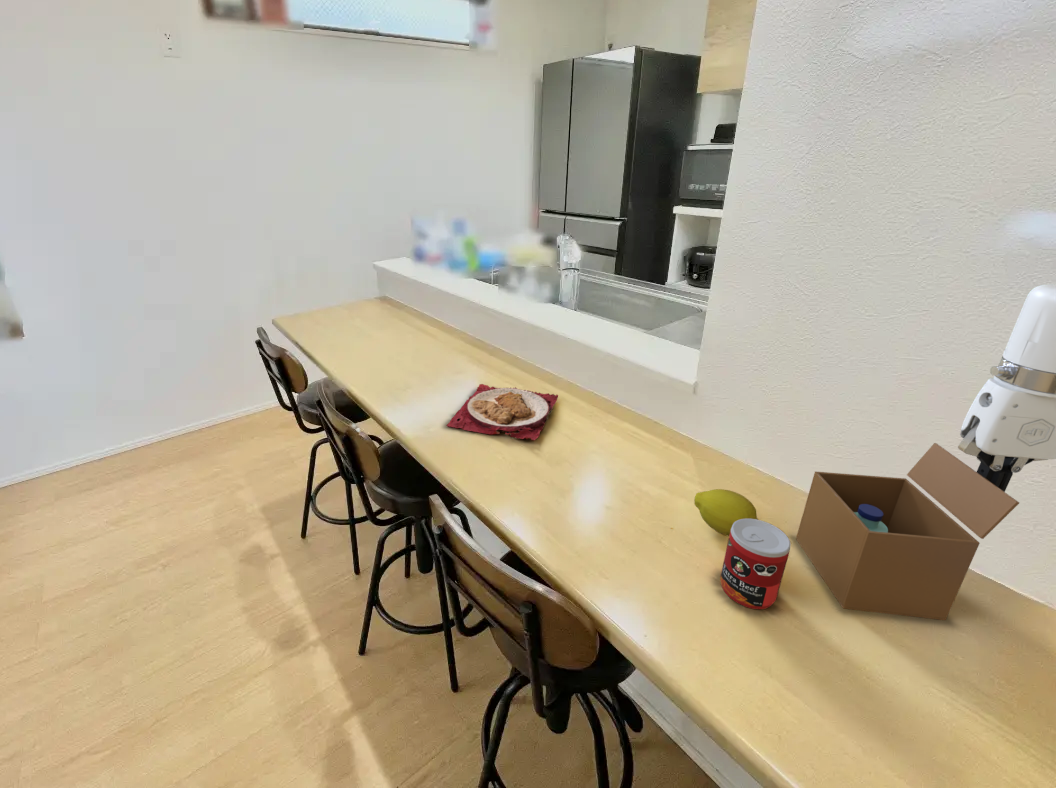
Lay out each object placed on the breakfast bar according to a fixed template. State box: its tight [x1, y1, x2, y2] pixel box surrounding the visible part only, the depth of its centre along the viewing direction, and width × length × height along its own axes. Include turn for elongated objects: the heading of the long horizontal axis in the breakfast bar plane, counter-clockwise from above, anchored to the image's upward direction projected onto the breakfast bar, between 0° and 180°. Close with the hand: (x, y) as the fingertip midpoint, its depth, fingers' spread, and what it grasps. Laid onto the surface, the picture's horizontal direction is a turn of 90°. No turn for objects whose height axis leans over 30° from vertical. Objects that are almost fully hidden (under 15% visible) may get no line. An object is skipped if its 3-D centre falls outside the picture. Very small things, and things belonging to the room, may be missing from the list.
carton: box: [795, 471, 981, 621], centre depth 78 cm, size 14×15×14 cm
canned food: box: [719, 518, 792, 610], centre depth 76 cm, size 8×8×11 cm
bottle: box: [854, 504, 888, 533], centre depth 79 cm, size 6×6×12 cm
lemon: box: [694, 488, 759, 537], centre depth 90 cm, size 11×8×8 cm
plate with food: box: [445, 383, 559, 441], centre depth 133 cm, size 24×26×4 cm
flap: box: [906, 442, 1020, 540], centre depth 73 cm, size 7×15×1 cm
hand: (986, 489), depth 73 cm, fingers closed
